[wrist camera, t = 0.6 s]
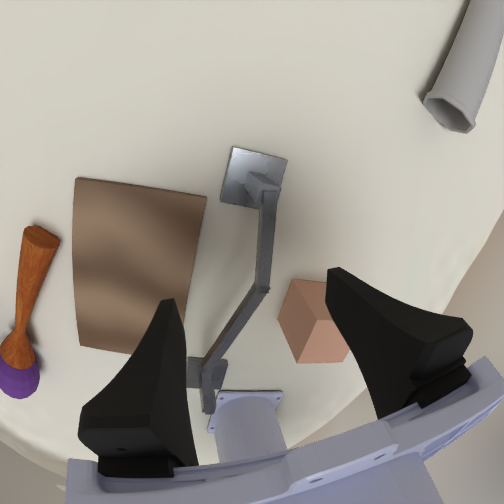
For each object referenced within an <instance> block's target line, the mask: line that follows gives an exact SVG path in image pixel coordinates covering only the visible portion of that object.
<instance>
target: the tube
mask: <svg viewBox="0 0 504 504" xmlns="http://www.w3.org/2000/svg"><path fill="white" fill-rule="evenodd" d="M503 33H504V0H471V1H470V3H469V6H468V9H467V11H466V14H465V16H464V19H463V21H462V24H461V26H460V29H459V31H458V33H457V36H456V38H455V40H454V43H453V45H452V47H451V50H450V52H449V54H448V56H447V59H446V61H445V63H444V65H443V67H442V69H441V71H440V74H439V76H438V78H437V80H436V82H435V84H434V86H433V88H432V90H431V91H430V92H427V94H426V96H425V98H424V101H423V103H422V104H423V105H424V106H425V107H426V109H427V110H428V111H429V112H430V113H431V115H432V116H433V117H434V118H435V119H436V120H437V121H438V122H439V123H441V124H442V125H444V126H445V127H447V128H448V129H449V130H451V131H455V132H460V133H465V134H467V133H468V132H470V131H471V130H472V129H473V128H474V127H475V125H476V122H475V118H476V115H477V113H478V110H479V108H480V105H481V103H482V100H483V98H484V95H485V92H486V89H487V87H488V84H489V81H490V78H491V75H492V72H493V69H494V66H495V62H496V59H497V56H498V52H499V49H500V45H501V41H502V37H503Z"/></svg>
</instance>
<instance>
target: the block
mask: <svg viewBox="0 0 504 504" xmlns="http://www.w3.org/2000/svg"><path fill="white" fill-rule="evenodd" d="M325 295H326V283H324V282H315V281H307V280H299V279H292V281H291V284H290V286H289V289H288V292H287V295H286V298H285V300H284V303H283V306H282V309H281V311H280V314H279V317H278V321H279V324H280V326H281V328H282V331H283V333H284V335H285V337H286V340H287V342H288V344H289V347H290V349H291V351H292V353H293V356H294V358H295V360H296V363H333V362H343V360H344V359H345V357H346V355H347V353H348V352H349V350H350V348H349V346H348V345H347V343H346V341H345V340H344V338H343V336H342V335H341V333H340V332H339V330H338V328H337V326H336V325H335V323H334V321H333V320H332V318H331V315H330V313H329V311H328V309H327V306H326V304H325Z"/></svg>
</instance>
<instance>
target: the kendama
mask: <svg viewBox="0 0 504 504" xmlns="http://www.w3.org/2000/svg"><path fill="white" fill-rule="evenodd" d="M58 246H59V239H58V238H57V236H55V235H54V234H52V233H50V232H48V231H47V230H45V229H43V228H42V227H40V226H28V227H26V228H25V229H24V232H23V238H22V244H21V251H20V259H19V268H18V278H17V291H16V314H15V329H14V330H13V331H12V332H11V333H10V334H9V335H8V336H7V337H6V339H5V340H4V341H3V342H2V344H1V345H0V388H1V390H2V391H3V392H4V393H5V394H7V395H9V396H10V397H12V398H17V399H23V398H27V397H29V396H30V395H31V394H33V393H34V392H35V391H36V390H37V387H38V384H39V379H40V374H39V368H38V365H37V363H36V361H35V353H34V351H33V349H32V346H31V344H30V342H29V339H28V337H27V334H26V331H25V330H26V327H27V324H28V321H29V318H30V315H31V312H32V309H33V307H34V304H35V301H36V298H37V296H38V293H39V291H40V288H41V285H42V283H43V280H44V278H45V276H46V273H47V271H48V269H49V266H50V264H51V262H52V259H53V257H54V255H55V253H56V251H57V249H58Z"/></svg>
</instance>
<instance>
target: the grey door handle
mask: <svg viewBox="0 0 504 504" xmlns="http://www.w3.org/2000/svg"><path fill="white" fill-rule="evenodd" d="M287 161H288V160H285V159H282V158H278V157H275V156H271V155H267V154H263V153H258V152H254V151H250V150H246V149H241V148H237V147H232V149H231V153H230V157H229V162H228V166H227V170H226V174H225V178H224V182H223V186H222V191H221V195H220V202H224V203H229V204H235V205H240V206H245V207H250V208H255V209H260V212H259V226H258V241H257V255H256V269H255V282H254V284H253V286H252V287H251V289H250V290H249V292H248V293H247V295H246V296H245V298H244V299H243V301H242V302H241V304H240V305H239V307H238V308H237V310H236V311H235V313H234V314H233V316H232V317H231V319H230V320H229V322H228V323H227V325H226V326H225V328H224V329H223V331H222V332H221V334H220V335H219V337H218V338H217V340H216V341H215V343H214V344H213V345H212V347H211V348H210V350H209V351H208V353H207V354H206V356H205V357H204V358H193V357H188V359H187V365H186V388H200V398H201V407H202V412H205V414H214V413H215V410H216V406H217V405H216V399H215V392H214V389H220V390H221V387H222V384H223V380H224V377H225V374H226V370H227V367H228V363H227V360H220V359H221V358H222V356H223V355H224V354H225V352H226V351H227V349H228V348H229V347H230V345H231V344H232V342H233V341H234V340H235V338H236V337H237V335H238V334H239V333H240V331H241V330H242V328H243V327H244V326H245V324H246V323H247V321H248V320H249V318H250V317H251V316H252V314H253V313H254V311H255V310H256V308H257V307H258V306H259V304H260V303H261V301H262V300H263V298H264V297H265V295H266V294H267V293H269V290H270V286H269V284H270V274H271V264H272V253H273V243H274V232H275V221H276V209H277V201H278V198H279V194H280V191H281V187H280V186H281V182H282V179H283V175H284V172H285V168H286V165H287Z"/></svg>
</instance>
